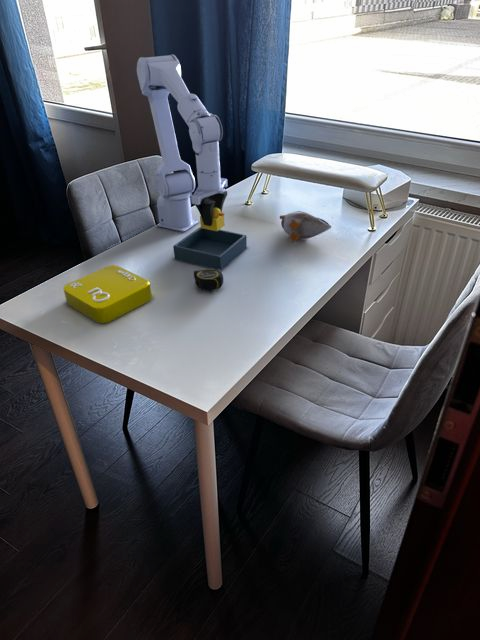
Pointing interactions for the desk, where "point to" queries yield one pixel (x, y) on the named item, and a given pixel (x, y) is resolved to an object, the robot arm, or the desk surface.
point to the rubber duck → (215, 220)
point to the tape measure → (208, 279)
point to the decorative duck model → (303, 225)
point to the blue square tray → (210, 248)
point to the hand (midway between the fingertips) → (212, 221)
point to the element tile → (107, 293)
